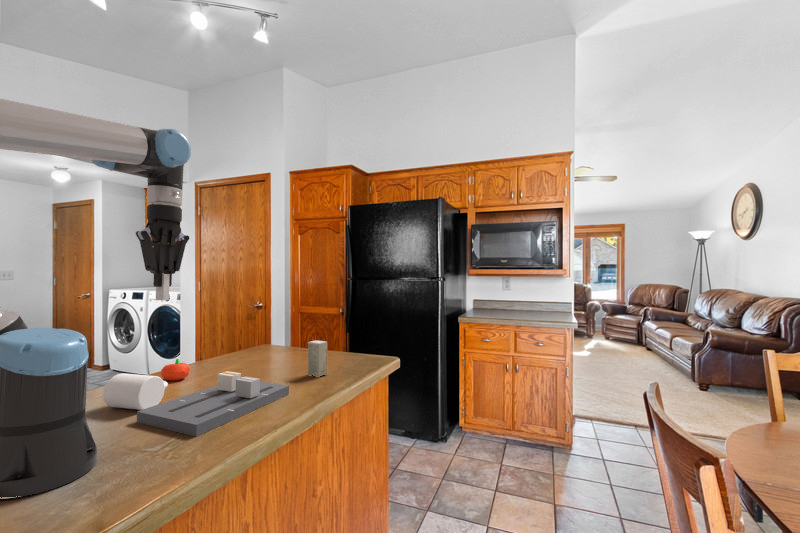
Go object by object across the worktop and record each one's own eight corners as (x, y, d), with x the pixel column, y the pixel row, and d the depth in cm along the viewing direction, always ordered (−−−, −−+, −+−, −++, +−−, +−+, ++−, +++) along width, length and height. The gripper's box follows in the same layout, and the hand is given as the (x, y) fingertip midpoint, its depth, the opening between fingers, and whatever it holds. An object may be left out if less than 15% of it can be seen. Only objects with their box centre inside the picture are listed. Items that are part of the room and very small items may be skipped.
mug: (137, 415, 90) (138, 381, 90) (102, 411, 92) (103, 378, 92) (176, 399, 102) (177, 368, 102) (144, 395, 104) (145, 366, 104)
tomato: (158, 381, 119) (158, 360, 119) (187, 377, 124) (186, 356, 125) (163, 383, 114) (163, 361, 114) (193, 379, 119) (193, 357, 120)
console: (199, 437, 79) (200, 425, 79) (136, 422, 86) (137, 410, 86) (291, 394, 107) (291, 385, 107) (238, 386, 114) (238, 377, 114)
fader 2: (250, 398, 95) (250, 381, 95) (235, 395, 97) (235, 378, 97) (259, 394, 98) (260, 378, 98) (244, 392, 100) (245, 375, 100)
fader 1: (231, 391, 100) (231, 375, 100) (217, 389, 101) (217, 373, 102) (240, 388, 103) (241, 372, 103) (226, 386, 104) (227, 370, 105)
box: (327, 375, 128) (328, 341, 128) (318, 378, 124) (319, 343, 124) (316, 372, 131) (316, 339, 131) (306, 375, 127) (307, 341, 127)
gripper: (150, 200, 89) (147, 302, 89) (198, 209, 101) (195, 299, 101) (128, 201, 92) (125, 301, 92) (177, 210, 104) (175, 297, 104)
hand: (162, 299), depth 96 cm, fingers closed
